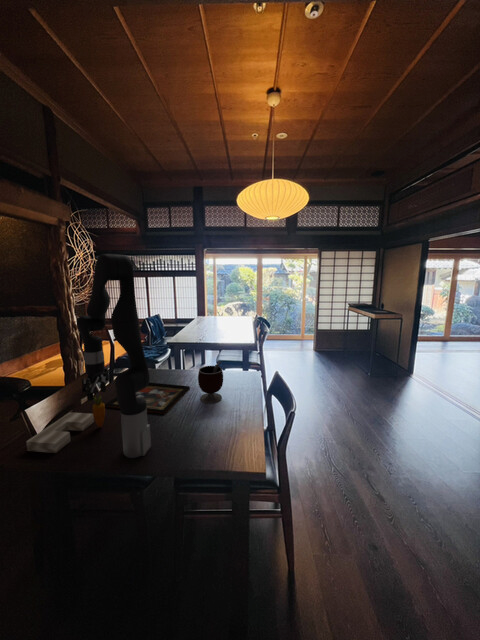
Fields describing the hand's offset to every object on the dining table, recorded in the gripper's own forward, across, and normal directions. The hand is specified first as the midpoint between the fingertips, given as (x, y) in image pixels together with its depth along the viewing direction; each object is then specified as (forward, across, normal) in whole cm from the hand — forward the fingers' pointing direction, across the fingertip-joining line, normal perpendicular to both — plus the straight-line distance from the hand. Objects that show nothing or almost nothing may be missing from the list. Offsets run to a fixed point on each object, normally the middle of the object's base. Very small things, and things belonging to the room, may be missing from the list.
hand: (97, 395), depth 113 cm
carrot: (+15, 0, 0) cm, 15 cm away
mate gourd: (+15, +34, -44) cm, 58 cm away
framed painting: (+16, +31, -10) cm, 36 cm away
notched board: (+15, -7, +12) cm, 20 cm away
